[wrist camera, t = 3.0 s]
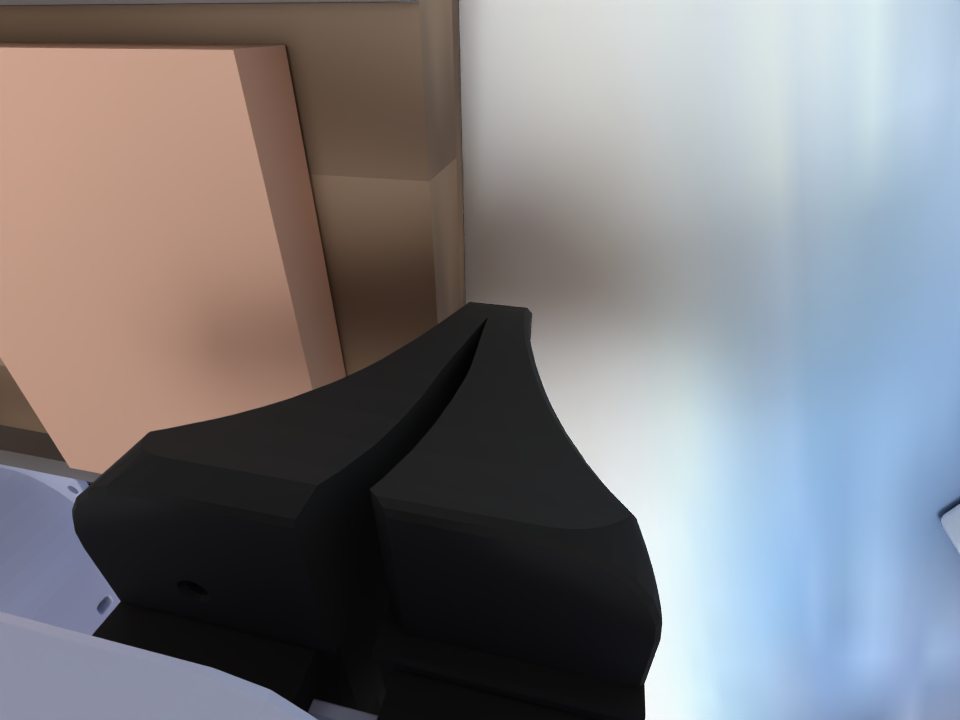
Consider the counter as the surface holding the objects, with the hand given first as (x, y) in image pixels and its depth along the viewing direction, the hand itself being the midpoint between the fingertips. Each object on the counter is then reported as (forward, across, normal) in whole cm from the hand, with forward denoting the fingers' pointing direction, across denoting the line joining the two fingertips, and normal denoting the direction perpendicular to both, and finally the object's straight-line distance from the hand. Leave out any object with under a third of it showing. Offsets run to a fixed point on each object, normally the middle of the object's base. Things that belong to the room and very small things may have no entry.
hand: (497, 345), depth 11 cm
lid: (0, +9, 0) cm, 9 cm away
